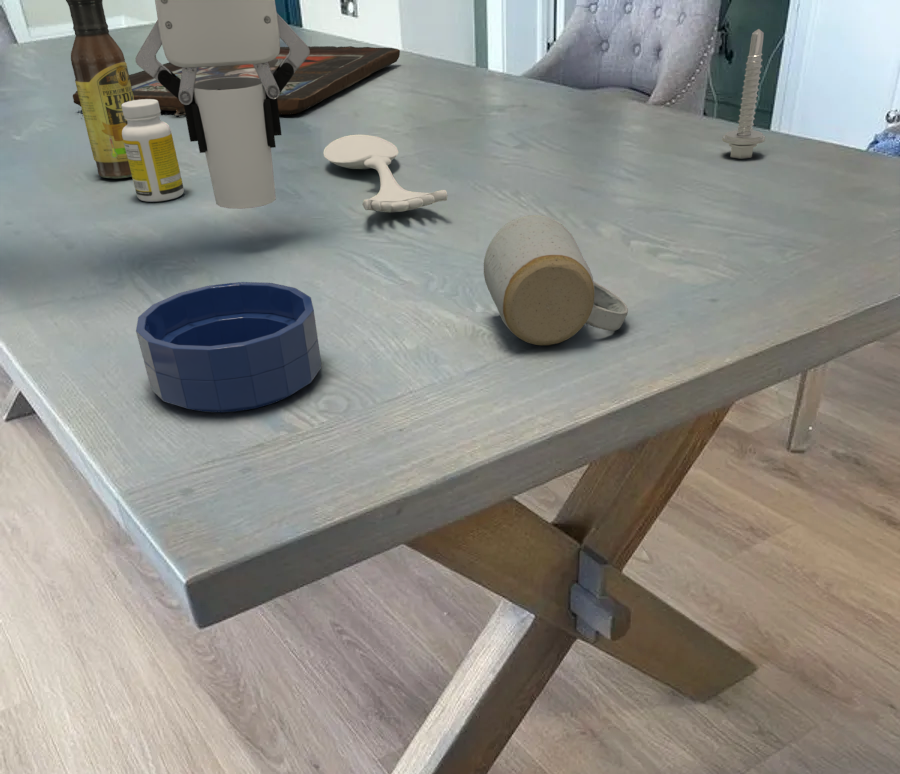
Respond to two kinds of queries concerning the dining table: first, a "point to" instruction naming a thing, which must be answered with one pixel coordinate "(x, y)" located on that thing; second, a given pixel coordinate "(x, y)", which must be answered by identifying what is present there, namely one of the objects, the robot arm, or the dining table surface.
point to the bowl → (230, 346)
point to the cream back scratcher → (378, 156)
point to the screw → (748, 104)
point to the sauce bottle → (101, 86)
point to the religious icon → (306, 87)
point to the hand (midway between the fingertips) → (237, 144)
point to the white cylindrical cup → (236, 141)
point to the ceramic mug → (546, 283)
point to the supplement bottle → (150, 152)
